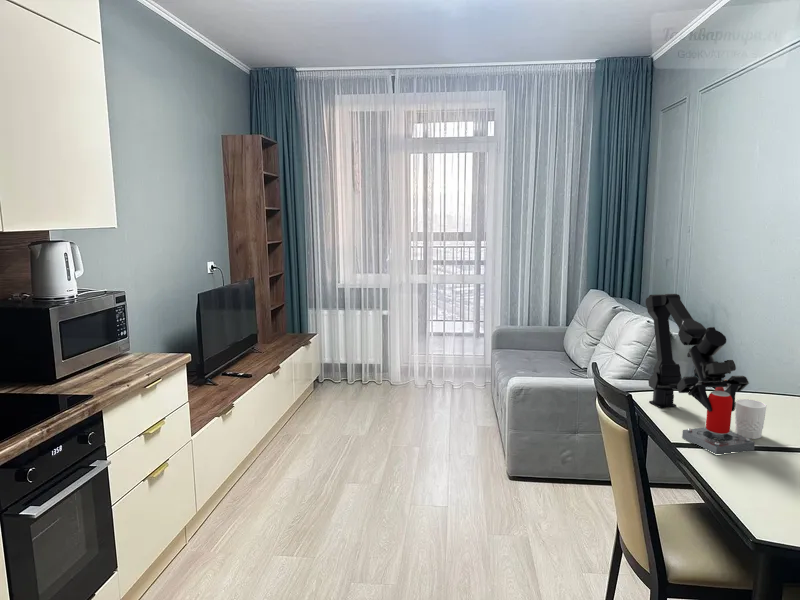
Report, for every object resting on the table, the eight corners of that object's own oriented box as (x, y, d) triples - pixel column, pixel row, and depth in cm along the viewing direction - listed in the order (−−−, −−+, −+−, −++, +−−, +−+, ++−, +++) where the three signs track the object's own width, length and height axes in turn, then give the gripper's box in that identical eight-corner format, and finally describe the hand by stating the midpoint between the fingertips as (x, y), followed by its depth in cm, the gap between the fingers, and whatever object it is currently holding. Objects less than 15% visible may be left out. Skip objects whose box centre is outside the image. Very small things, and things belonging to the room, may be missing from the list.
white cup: (761, 432, 173) (764, 400, 171) (765, 441, 166) (768, 409, 164) (731, 428, 176) (734, 397, 175) (734, 437, 169) (737, 405, 168)
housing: (682, 437, 169) (682, 428, 169) (718, 433, 172) (718, 423, 172) (716, 455, 157) (716, 445, 156) (754, 450, 160) (755, 439, 159)
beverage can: (716, 427, 168) (719, 388, 166) (734, 434, 162) (738, 395, 160) (700, 429, 166) (703, 390, 164) (718, 437, 161) (721, 397, 159)
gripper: (684, 350, 164) (702, 399, 155) (748, 349, 164) (769, 398, 155) (669, 368, 173) (685, 415, 164) (729, 367, 173) (749, 414, 164)
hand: (722, 410), depth 162 cm, fingers closed on beverage can, 6 cm apart
